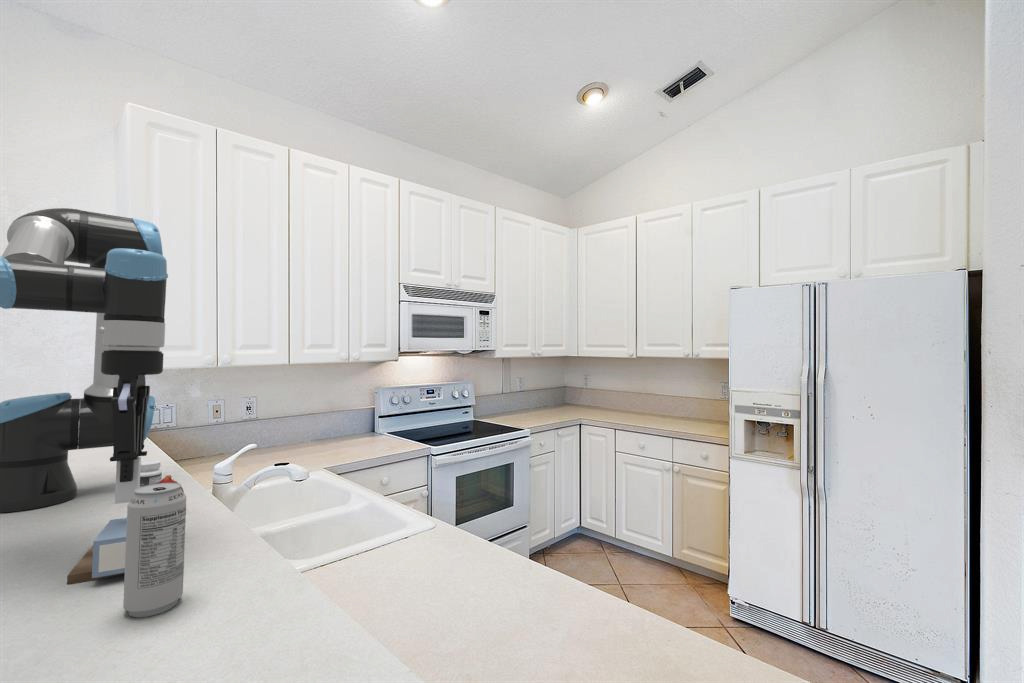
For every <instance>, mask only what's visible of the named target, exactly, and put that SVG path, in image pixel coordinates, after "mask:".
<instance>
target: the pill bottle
mask: <svg viewBox="0 0 1024 683" xmlns="http://www.w3.org/2000/svg"><path fill="white" fill-rule="evenodd" d="M160 468H161V461H160V460H147V461H141V468H140V487H143V486H147V485H152V484H157V483H159V482H160V481H161V480H162V475H163V472H162V469H160Z"/></svg>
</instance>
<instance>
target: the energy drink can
mask: <svg viewBox="0 0 1024 683" xmlns="http://www.w3.org/2000/svg"><path fill="white" fill-rule="evenodd" d="M181 487H182V484H181V483H180V482H179V483H160V484H152V485H147V486H143V487H140V488H137V489H136V490H135V491H134V493H135V494H134V496H133V498H132V499H131V501H130V502H128V504H127V511H126V518H127V530H126V553H125V575H124V580H123V581H124V582H123V600H122V601H123V605H122V607H123V609H124V610H125V611H128V615H129V616H130V617H134V618H147V617H152V616H156V615H159V614H162V613H164V612H166V611H168V610H171V609H172V608H173V607H175V606H176V605H177V603H178V600H179V599H180V598H181V597H182V596H183V594H184V576H185V575H184V574H185V573H184V572H185V571H184V569H185V545H186V544H185V542H186V540H185V539H186V522H187V520H186V517H187V495H186V494H185V492H183V491H184V490H183V491H182V489H181Z"/></svg>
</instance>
